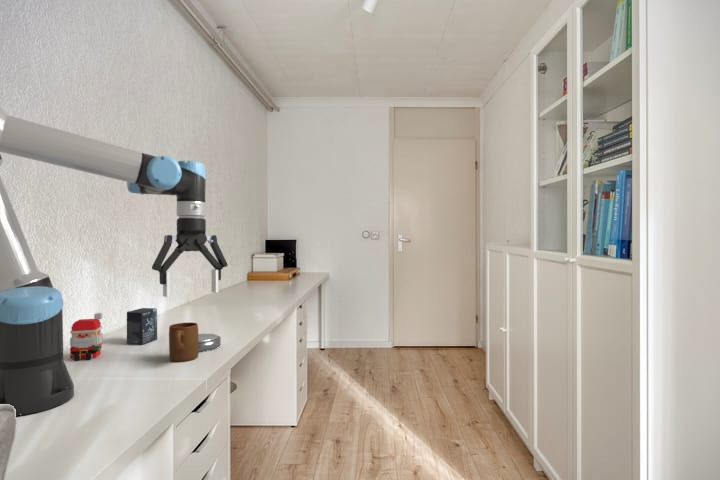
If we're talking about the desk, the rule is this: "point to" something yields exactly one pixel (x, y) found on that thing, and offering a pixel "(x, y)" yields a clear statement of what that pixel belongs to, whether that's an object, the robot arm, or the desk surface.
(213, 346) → the grey metal dish
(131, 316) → the box
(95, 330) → the figurine
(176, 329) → the mug
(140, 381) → the desk surface
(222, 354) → the desk surface
